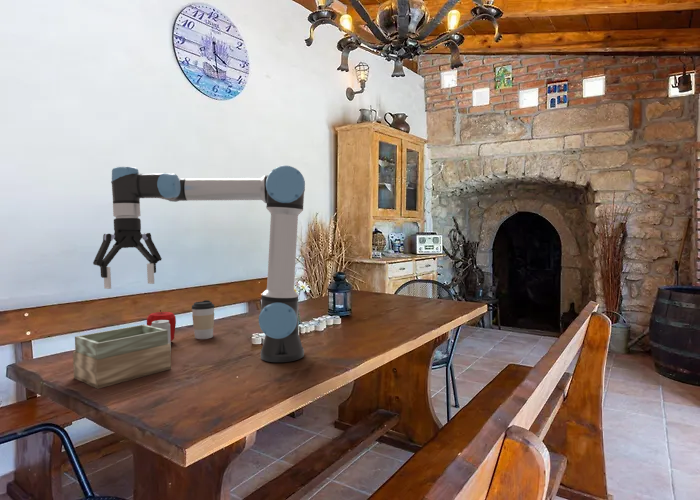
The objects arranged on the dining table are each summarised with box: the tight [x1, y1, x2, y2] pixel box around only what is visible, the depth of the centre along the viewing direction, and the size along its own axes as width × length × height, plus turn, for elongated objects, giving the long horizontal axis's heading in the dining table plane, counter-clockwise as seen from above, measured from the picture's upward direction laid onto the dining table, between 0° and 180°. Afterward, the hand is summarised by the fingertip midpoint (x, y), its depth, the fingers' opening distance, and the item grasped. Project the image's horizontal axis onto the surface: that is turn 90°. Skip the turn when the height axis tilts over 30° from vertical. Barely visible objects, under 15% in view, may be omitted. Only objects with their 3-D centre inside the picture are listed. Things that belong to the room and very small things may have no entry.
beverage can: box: [151, 320, 172, 352], centre depth 159 cm, size 6×6×12 cm
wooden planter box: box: [72, 324, 172, 390], centre depth 138 cm, size 16×22×12 cm
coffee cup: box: [191, 299, 215, 340], centre depth 183 cm, size 9×9×15 cm
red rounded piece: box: [146, 309, 177, 342], centre depth 173 cm, size 11×10×14 cm
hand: (130, 286), depth 140 cm, fingers open, 13 cm apart
